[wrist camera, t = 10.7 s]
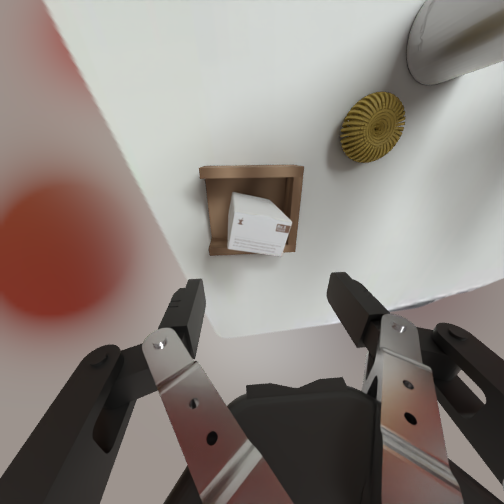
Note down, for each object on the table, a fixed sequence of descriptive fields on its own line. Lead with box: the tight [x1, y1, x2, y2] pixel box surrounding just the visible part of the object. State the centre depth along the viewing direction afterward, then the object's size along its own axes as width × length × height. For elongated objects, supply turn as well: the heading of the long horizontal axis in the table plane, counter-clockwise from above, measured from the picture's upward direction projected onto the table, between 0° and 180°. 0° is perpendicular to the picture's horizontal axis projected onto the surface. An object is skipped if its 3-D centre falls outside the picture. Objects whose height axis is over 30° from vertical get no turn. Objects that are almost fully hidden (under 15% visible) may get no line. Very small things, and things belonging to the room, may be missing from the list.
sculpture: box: [340, 92, 405, 163], centre depth 26 cm, size 8×4×8 cm
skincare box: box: [227, 192, 292, 257], centre depth 24 cm, size 6×4×12 cm
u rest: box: [199, 165, 304, 256], centre depth 28 cm, size 13×12×5 cm
